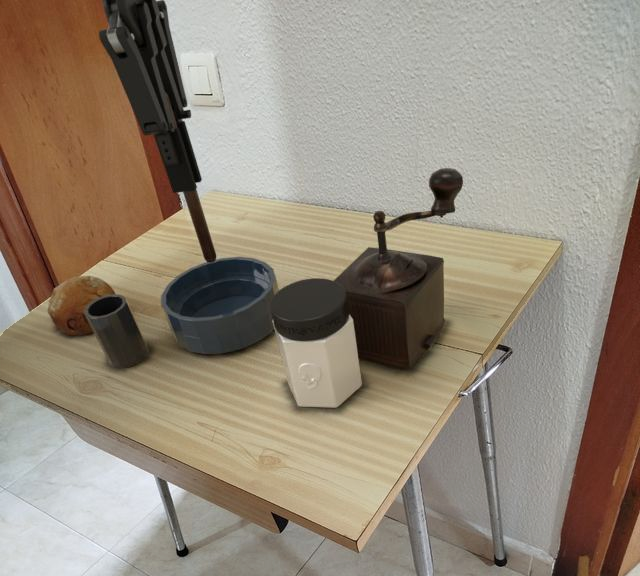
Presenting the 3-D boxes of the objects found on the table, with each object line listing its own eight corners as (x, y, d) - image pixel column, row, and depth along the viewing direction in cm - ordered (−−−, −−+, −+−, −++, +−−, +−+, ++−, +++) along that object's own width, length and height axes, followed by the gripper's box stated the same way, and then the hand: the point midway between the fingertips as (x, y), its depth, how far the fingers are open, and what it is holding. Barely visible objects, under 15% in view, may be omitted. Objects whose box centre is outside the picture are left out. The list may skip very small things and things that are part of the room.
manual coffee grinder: (414, 374, 68) (406, 228, 56) (334, 353, 74) (310, 215, 61) (467, 303, 77) (471, 163, 64) (392, 288, 82) (382, 156, 70)
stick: (204, 265, 75) (148, 93, 61) (207, 259, 76) (153, 88, 62) (216, 264, 75) (163, 90, 61) (219, 258, 76) (167, 86, 62)
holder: (103, 369, 79) (77, 319, 73) (117, 344, 83) (94, 295, 77) (140, 367, 78) (117, 317, 72) (153, 342, 82) (132, 292, 76)
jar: (279, 408, 68) (256, 321, 59) (296, 363, 73) (276, 278, 65) (356, 410, 65) (342, 321, 57) (367, 364, 71) (356, 276, 63)
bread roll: (122, 315, 95) (97, 268, 92) (132, 315, 86) (104, 262, 83) (64, 342, 92) (36, 294, 89) (67, 344, 83) (36, 291, 80)
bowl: (161, 361, 78) (145, 324, 74) (192, 297, 89) (179, 261, 85) (273, 355, 75) (263, 316, 71) (291, 290, 86) (283, 252, 82)
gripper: (114, -75, 46) (202, 211, 63) (168, -92, 57) (232, 158, 73) (30, -57, 48) (137, 218, 64) (97, -77, 58) (175, 165, 74)
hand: (187, 185), depth 69 cm, fingers closed on stick, 1 cm apart
